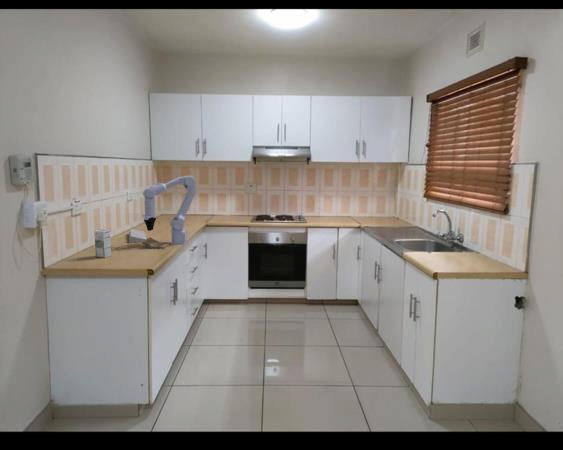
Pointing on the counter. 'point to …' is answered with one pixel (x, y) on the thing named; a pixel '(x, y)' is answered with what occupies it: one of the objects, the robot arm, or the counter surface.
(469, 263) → the counter surface
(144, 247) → the plate
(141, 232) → the decorative molding
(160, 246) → the laid plank
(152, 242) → the board
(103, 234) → the syrup box
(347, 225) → the counter surface
